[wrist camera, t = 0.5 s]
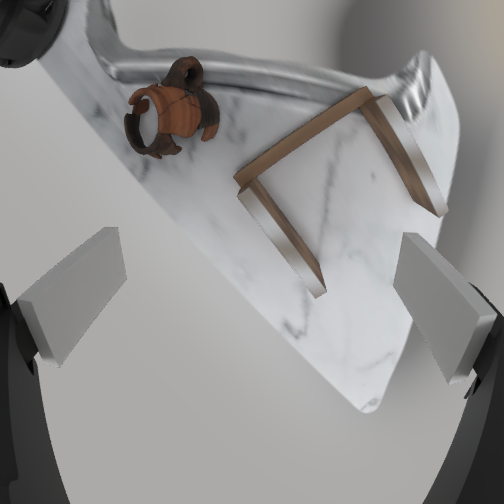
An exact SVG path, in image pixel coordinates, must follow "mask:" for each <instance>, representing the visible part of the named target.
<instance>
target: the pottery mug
mask: <svg viewBox="0 0 504 504" xmlns="http://www.w3.org/2000/svg"><path fill="white" fill-rule="evenodd" d="M187 71H188V75H187V77H186V78H185V74H186V72H187ZM202 76H203V68H202V66H201V64H200V62H199V61H198V60H197V59H196V58H195V57H193V56H190V57H182V58H180V59H178V60H176V61H175V62H174V63H173V65H172V66H171V68H170V71H169V73H168V75H167V76H166V78H164V79H163V80H162V81H161V85H163V86H159V87H158V83H156V84H153V85H151V86H149V87H147V88H141V89H139V90H137V91H136V92H134V94H133V95H132V96H131V97H130V99H129V102H128V103H129V105H134V106H133V111H132V114H128V113H127V114H126V115H125V117H124V125H125V132H126V136H127V139H128V141H129V142H130V145H131V146H132V148H133V149H134V150H135V151H136V152H137V153H139V154H142V155H145V154H148V155H150V156H152V157H154V158H158V159H162V156H160V155H169V154H171V155H176V154H177V153H179V152H180V151H181V150H182V148H181V147H180V146H176V144H175V142H174V141H173V139H172V136H171V134H173V135H178V136H181V137H184V138H188V137H191V136H192V135H194V133H195V131H196V129H198V130H199V129H202V128H204V127H205V131H204V134H203V136H202V138H201V140H202V141H207V140H210V139H212V138H214V136H215V134H216V132H217V130H218V125H219V114H220V113H219V109H218V105H217V102H216V101H215V100H214V98H213V97H212V96H211V95H210V94H209V93H207V92H206V91H205V90H204V89H202V88H203V86H202ZM185 90H186V91H188V92H190V93H192V94H190V95H187V96H186V92H185ZM144 95H148V96H149V97H150V98H151V99H152V100H153V102H154V104H155V106H156V108H157V113H158V133H157V135H156V138H155V140H154V142H153V143H152V144H151V145H150V146H149V147H146V146H145V145H144V142H143V140H142V137H141V135H140V132H139V122H140V115H141V114H143V113H145V112H146V111H148V109H149V100H148V99H143V100H141V99H142V97H143V96H144ZM159 154H160V155H159Z"/></svg>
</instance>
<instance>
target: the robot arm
mask: <svg viewBox="0 0 504 504" xmlns="http://www.w3.org/2000/svg"><path fill="white" fill-rule="evenodd" d="M65 2H66V0H0V66H1V67H5V68H19V67H23V66H25V65H27V64H29V63H30V62H32V61H33V60H34V59H36V58H37V57H38V56H39V55H40V54H41V53H42V52H43V51H44V49H45V48H46V47H47V46H48V44H49V43H50V41H51V40H52V38H53V37H54V35H55V33H56V31H57V29H58V27H59V25H60V23H61V20H62V17H63V14H64V9H65ZM126 280H127V276H126V271H125V266H124V261H123V255H122V250H121V244H120V238H119V232H118V227H104V228H103V229H101V230H100V231H99V232H97V233H96V234H95V235H93V236H92V237H91V238H90V239H88V240H87V241H86V242H84V243H83V244H82V245H80V246H79V247H78V248H77V249H75V250H74V251H73V252H71V253H70V254H69V255H68V256H67V257H65V258H64V259H63V260H62V261H60V262H59V263H58V264H57V265H55V266H54V267H53V268H52V269H51V270H49V271H48V272H47V273H46V274H45V275H44V276H42V277H41V278H40V279H39V280H38V281H37V282H35V283H34V284H33V285H32V286H31V287H30V288H29V289H27V290H26V291H25V292H24V293H23V294H22V295H21V296H20V297H18V299H17V300H16V301H15V302H14V303H13V304H12V305H10V302H9V300H8V297H7V294H6V291H5V288H4V286H3V284H2V283H0V504H70V502H69V500H68V497H67V494H66V491H65V489H64V485H63V482H62V479H61V476H60V473H59V470H58V466H57V463H56V459H55V456H54V452H53V448H52V445H51V440H50V437H49V432H48V428H47V423H46V418H45V413H44V407H43V402H42V396H41V389H40V383H39V375H38V367H37V363H36V361H35V359H34V356H35V355H36V354H37V352H38V351H39V353H40V356H41V358H42V360H43V362H44V364H47V365H50V366H54V367H58V368H60V367H61V365H62V364H63V362H64V361H65V360H66V358H67V357H68V355H69V354H70V352H71V351H72V350H73V348H74V347H75V346H76V344H77V343H78V341H79V340H80V339H81V337H82V336H83V335H84V333H85V332H86V331H87V329H88V328H89V327H90V325H91V324H92V323H93V321H94V320H95V319H96V318H97V316H98V315H99V314H100V312H101V311H102V310H103V308H104V307H105V306H106V305H107V303H108V302H109V301H110V300H111V298H112V297H113V296H114V295H115V293H116V292H117V291H118V290H119V288H120V287H121V286H122V284H123V283H124V282H125V281H126ZM393 287H394V288H395V290H396V292H397V293H398V295H399V296H400V298H401V300H402V301H403V303H404V305H405V306H406V308H407V310H408V311H409V313H410V315H411V316H412V318H413V320H414V322H415V323H416V325H417V327H418V328H419V330H420V332H421V334H422V336H423V337H424V339H425V341H426V343H427V345H428V346H429V348H430V350H431V352H432V354H433V356H434V358H435V359H436V361H437V363H438V365H439V367H440V369H441V371H442V373H443V375H444V377H445V379H446V381H447V383H448V384H453V383H458V382H463V381H465V380H466V379H467V377H468V375H469V374H470V371H471V370H472V368H473V369H474V370H475V372H476V374H477V376H476V378H475V380H474V382H473V383H472V385H471V387H470V388H469V390H468V392H467V393H466V395H465V397H464V399H467V397H468V396H469V397H468V400H467V404H466V407H465V409H464V412H463V415H462V418H461V421H460V423H459V426H458V429H457V432H456V434H455V437H454V439H453V442H452V444H451V446H450V449H449V451H448V454H447V456H446V458H445V460H444V463H443V465H442V467H441V469H440V471H439V473H438V475H437V477H436V479H435V481H434V483H433V485H432V487H431V489H430V491H429V493H428V495H427V497H426V499H425V500H424V502H423V504H504V317H503V316H502V314H501V313H500V312H499V311H498V310H497V309H496V308H495V306H494V305H493V304H492V303H491V302H489V300H488V299H487V298H486V297H485V296H484V295H483V293H482V292H481V291H480V290H479V289H478V288H477V287H475V286H474V285H472V284H471V283H469V282H467V280H466V279H465V278H463V276H462V275H461V274H460V273H459V272H458V271H457V270H456V269H455V268H454V267H453V266H452V265H451V264H450V263H449V262H448V261H447V260H446V259H445V258H444V257H442V255H441V254H440V253H438V252H437V251H436V250H435V249H434V248H433V247H432V246H431V245H430V244H429V243H428V242H427V241H426V240H425V239H424V238H422V237H421V236H420V235H419V234H418V233H407V232H403V237H402V243H401V248H400V254H399V259H398V264H397V269H396V274H395V278H394V283H393Z"/></svg>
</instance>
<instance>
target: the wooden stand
mask: <svg viewBox="0 0 504 504" xmlns="http://www.w3.org/2000/svg"><path fill="white" fill-rule="evenodd" d="M356 108H359V109H360V111H361V112H362V114H363V115H364V117H365V118H366V120H367V121H368V123H369V124H370V126H371V127H372V129H373V130H374V132H375V134H376V135H377V137H378V138H379V140H380V142H381V143H382V145H383V147H384V148H385V150H386V152H387V153H388V155H389V157H390V159H391V160H392V162H393V164H394V166H395V167H396V169H397V171H398V173H399V174H400V176H401V178H402V180H403V182H404V184H405V186H406V187H407V189H408V191H409V193H410V195H411V197H412V199H413V201H414V202H416V203H417V204H419V205H421V206H422V207H424V208H425V209H427V210H428V211H430V212H431V213H432V214H434V215H435V216H437V217H438V218H440V217H441V216H443V215H444V214H445V213H447V212H448V211H449V210H448V207H447V205H446V203H445V200H444V198H443V196H442V193H441V191H440V189H439V187H438V185H437V182H436V180H435V178H434V176H433V174H432V172H431V170H430V168H429V166H428V164H427V162H426V160H425V158H424V156H423V154H422V152H421V150H420V148H419V147H418V145H417V143H416V141H415V139H414V137H413V136H412V134H411V132H410V130H409V129H408V127H407V125H406V123H405V122H404V120H403V118H402V117H401V115H400V113H399V112H398V110H397V108H396V107H395V105H394V104H393V102H392V101H391V99H390V97H389V96H388V94H386V95H382V96H377V97H374V96H373V95H372V93H371V92H370V90H369V89H368V87H367V86H365V87H362V88H360V89H358V90H356V91H355V92H353V93H352V94H350V95H348V96H347V97H345V98H344V99H342V100H340V101H339V102H337V103H336V104H334V105H333V106H331V107H330V108H328V109H327V110H325V111H324V112H322V113H320V114H319V115H317V116H316V117H314V118H313V119H311V120H310V121H308V122H307V123H306V124H304V125H303V126H301V127H300V128H298V129H297V130H295V131H294V132H292V133H291V134H289V135H288V136H287V137H285V138H284V139H282V140H281V141H279V142H278V143H277V144H275V145H274V146H272V147H271V148H270V149H268V150H267V151H265V152H264V153H263V154H261V155H260V156H258V157H257V158H256V159H254V160H253V161H252V162H250V163H249V164H247V165H246V166H245V167H243V168H242V169H241V170H239V171H238V172H237V173H236V174H235V175H234V176H233V178H234V179H235V180H236V182H237V183H238V184H239V185H240V187H241V189H240V191H239V193H238V195H237V198H238V199H239V200H240V201H241V203H242V204H243V205H244V207H245V208H246V209H247V210H248V212H249V213H250V214H251V215H252V217H253V218H254V219H255V221H256V222H257V223H258V224H259V226H260V227H261V228H262V230H263V231H264V232H265V233H266V235H267V236H268V237H269V239H270V240H271V241H272V243H273V244H274V245H275V246H276V248H277V249H278V250H279V252H280V253H281V254H282V256H283V257H284V258H285V259H286V261H287V262H288V263H289V265H290V266H291V267H292V269H293V270H294V271H295V273H296V274H297V275H298V276H299V278H300V279H301V280H302V282H303V283H304V284H305V286H306V287H307V288H308V290H309V291H310V292H311V294H312V295H313V296H314V298H315V299H316V298H318V297H319V296H321V295H323V294H324V293H326V292H327V290H326V287H325V283H324V279H323V276H322V272H321V268H320V265H319V263H318V261H317V260H316V258H315V257H314V256H313V254H312V253H311V251H310V250H309V249H308V247H307V246H306V244H305V243H304V242H303V240H302V239H301V237H300V236H299V235H298V233H297V232H296V231H295V229H294V228H293V227H292V225H291V224H290V222H289V221H288V220H287V218H286V217H285V216H284V214H283V213H282V212H281V210H280V209H279V208H278V206H277V205H276V204H275V202H274V201H273V200H272V198H271V197H270V196H269V194H268V193H267V192H266V190H265V189H264V188H263V186H262V185H261V184H260V182H259V181H258V180H257V179H256V177H257V176H258V175H259V174H261V173H262V172H264V171H265V170H266V169H268V168H269V167H271V166H272V165H273V164H275V163H276V162H278V161H279V160H280V159H282V158H283V157H285V156H286V155H288V154H289V153H290V152H292V151H293V150H295V149H296V148H298V147H299V146H301V145H302V144H304V143H305V142H306V141H308V140H309V139H311V138H312V137H314V136H315V135H317V134H318V133H320V132H321V131H323V130H324V129H326V128H327V127H329V126H330V125H332V124H333V123H335V122H336V121H338V120H339V119H341V118H342V117H344V116H346V115H347V114H349V113H350V112H352V111H353V110H355V109H356Z"/></svg>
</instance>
